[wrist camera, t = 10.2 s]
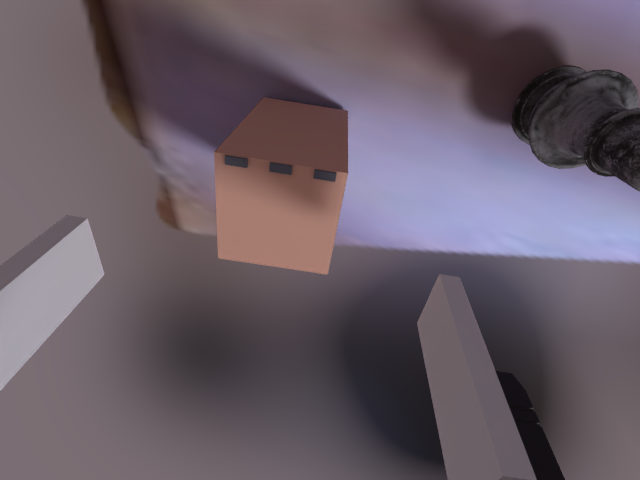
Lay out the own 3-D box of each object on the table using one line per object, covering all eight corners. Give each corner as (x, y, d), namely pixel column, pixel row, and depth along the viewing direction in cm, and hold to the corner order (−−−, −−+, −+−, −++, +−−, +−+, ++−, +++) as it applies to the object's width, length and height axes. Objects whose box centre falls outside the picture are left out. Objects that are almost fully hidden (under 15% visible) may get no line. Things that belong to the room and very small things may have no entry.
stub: (263, 97, 24) (213, 153, 15) (347, 110, 24) (347, 174, 15) (260, 175, 28) (217, 259, 19) (333, 186, 28) (327, 276, 19)
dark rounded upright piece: (546, 46, 22) (711, 81, 12) (622, 80, 23) (837, 140, 13) (490, 133, 25) (584, 217, 15) (559, 161, 26) (690, 257, 16)
